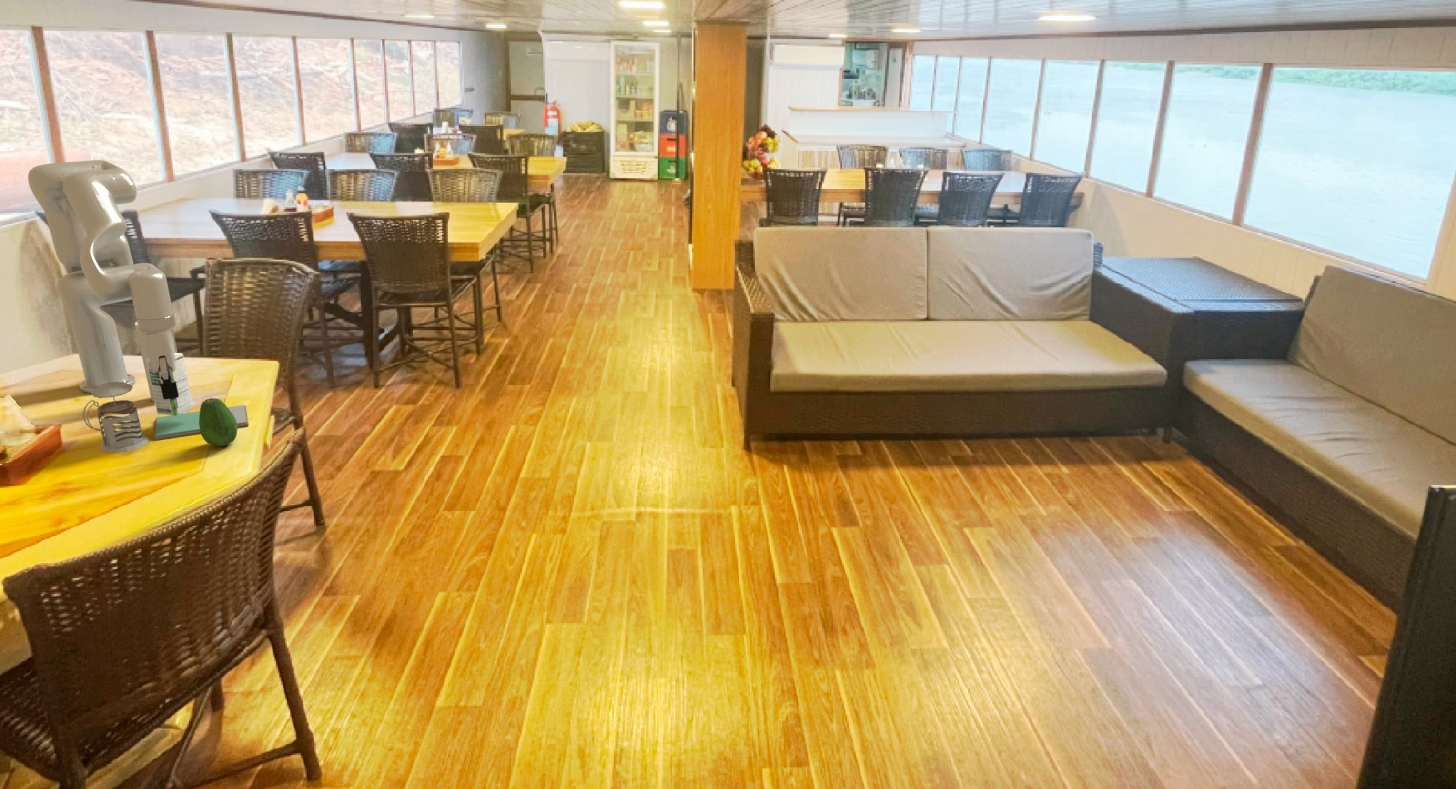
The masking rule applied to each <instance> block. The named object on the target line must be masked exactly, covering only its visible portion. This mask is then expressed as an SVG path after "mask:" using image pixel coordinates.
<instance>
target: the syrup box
mask: <svg viewBox="0 0 1456 789" xmlns="http://www.w3.org/2000/svg"><path fill="white" fill-rule="evenodd" d="M175 362H176V369H175V370H174V371H173V376H174V381H176V385H177V389H178V394H179V397H178V398H172V399H163V395H162V390H161V386H160V383H161V382H160V376H159V370H158V372H156V373H155V374H153V373H152V370H151V365H150V360H149V357H147V358H146V363H147V367H148V372H149V376H150V381H151V385H152V390H153V395H154V399H155V402H154V404H155V408H156V409H155V410H156V413H157V414H158V415H165V416H170V415H174V416H178V415H180V414H184V413H187V412H188V411H190V410H192V409H194V402H193V399H192V394H191V389H190V388H191V387H190V384H189V379H188V374H187V369H186V368H187V367H186V364H185V363H186V362H185V359H184V354H183V352H182V353H181V352H178V353H175ZM166 363H167V360H166ZM160 369H161V368H160ZM167 370H170V366H169V365H168V364H167ZM168 374H170V373H168ZM170 377H171V376H170Z"/></svg>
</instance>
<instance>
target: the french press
mask: <svg viewBox="0 0 1456 789" xmlns="http://www.w3.org/2000/svg"><path fill="white" fill-rule="evenodd" d="M96 348H97V349H98V350H102V354H103V349H106V348H107V346H106V345H105V344H104V343H100V344H98V345H97V346H96ZM103 358H104V354H103ZM104 362H105V358H104ZM105 366H106V362H105ZM106 370H107V366H106ZM107 374H108V370H107ZM108 379H109V383H105V384H102V385H100V386H98V387H97V388H95V389H94V390H93V391H92V392H91V393H90V394H91V396H92V397H94V398H97V399H102V398H103V399H106V398H112V399H113V400H112V401H108V402H105V403H103V404H101V405H99V402H98V401H95V400H89V402H87V403H86V405H85V406H84V407H83V412H82V417H83V418H82V419H83V421H84V423H85V425H86V426H87V427H88V428H89V429H92V430H93V431H97V432H100V434H101V438H102V441H103V443H102V444H101V445H100V447H99V449H100V450H101V451H102V452H104V453H107V454H108V453H109V454H113V453H114V454H119V453H126V452H130V451H134V450H137V449H140V448H142V447H144V446H146V445H147V444H148V443H149V441H150V438H149V437H148V436H147V435H144V434H143V432H142V431H143V429H142V427H141V422H140V418H139V413H138V408H137V407H136V406H135V402H133V401H132V400H127V399H124V400H122V399H118V400H115V397H119V396H122V395H125V394H128V393H129V392H131V391H132V389H133V385H130V384H127V383H124V382H110V378H109V374H108ZM92 402H93V403H92ZM90 403H92V404H90ZM89 404H90V406H89V407H88V405H89ZM93 405H94V406H95V407H96V408H97V411H98V413H97V420H98V423H99V427H100V428H95V427H94V426H93V425H92V424H91V423H90V420H89V415H90V413H89V412H90V409H91V408H92V407H93ZM87 407H88V409H87V412H86V408H87ZM85 413H86V416H85ZM105 414H114V415H105ZM104 415H105V416H104ZM116 415H124V416H116ZM103 416H104V417H103ZM102 417H103V418H102ZM86 419H87V420H86Z"/></svg>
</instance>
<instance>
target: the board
mask: <svg viewBox="0 0 1456 789" xmlns="http://www.w3.org/2000/svg"><path fill="white" fill-rule="evenodd" d="M227 407H228V409H229V410H230V411H231V412H232V414H233V415H234V417H235V419H236V422H237V427H238V428H237V429H239V428H246V427H249V420H248V413H247V406H246V405H244V404H241V405H234V406H227ZM199 416H200V410H199V411H193V412H191V411H190V412H184V413H182V414H180V415H178V416H174V415H164V416H157V417H155V422H154V424H155V425H154V435H153V440H154V441H161V440H167V439H175V438H179V437H180V438H181V437H187V436H194V435H201V434H200V427H199Z"/></svg>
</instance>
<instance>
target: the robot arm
mask: <svg viewBox="0 0 1456 789" xmlns="http://www.w3.org/2000/svg"><path fill="white" fill-rule="evenodd" d="M27 180H28V181H27V182H28V186H29V189H30V190H31V192H32V195H33V196H34V198H35V199H36V200H37V202H38V204H39V206H41V208H42V210H43V212H44V214H45V218H46V220H47V225H48V229H49V233H50V237H51V240H52V245H53V247H54V252H55V254H56V257H57V259H58V261H59V262H60V264H62V266H63V265H64V266H66V267H70V268H71V267H72V268H73V267H75V268H76V267H78V268H79V267H80V268H81V270H78V271H77V270H76V271H73V272H69V273H66V274H64V275H62V276H61V277H60V278H59V279H58V281H57V284H56V288H57V292H58V294H59V297H60V299H61V301H62V303H63V306H64V308H65V310H66V313H67V316H68V318H69V319H68V320H69V322H70V326H71V330H72V333H73V338H74V342H75V344H76V350H77V352H78V353H77V354H78V356H79V361H80V365H81V368H82V371H83V372H82V373H83V376H84V380H83V381H82V382H81V383H79V388H80V389H79V390H80V391H81V392H84V393H88V394H91V392H92V391H93V390H94V389H95V388H97V387H98V386H100V385H102V384H105V383H109V379H108V374H109V378H110V382H124V383H127V384H130V385H132V386H133V385H135V382H136V377H135V375H133V374H130V373H127V369H126V363H125V361H124V359H125V358H124V356H123V352H122V348H121V347H122V346H121V343H120V339H119V335H118V330H117V325H116V322H115V320H114V318H113V317H112V315H110V314H109V313H108V312H106V311H105V310H102V309H101V307H102V306H106V305H110V304H116V303H121V302H125V301H130V300H132V305H133V310H134V313H135V317H136V322H137V323H138V327H139V331H140V332H141V333H145V338H146V344H147V350H148V355H149V360H150V365H151V370H152V373H153V374H155V373H156V372H158V370H159V376H160V382H161V383H160V386H161V390H162V395H163V399H172V398H178V397H179V394H178V389H177V385H176V381H174V376H173V371H174V370H175V369H176V362H175V347H174V342H173V337H172V332H171V330H173V331H174V330H175V329H176V328H177V324H176V319H175V314H174V309H173V304H172V300H171V296H170V289H169V286H168V285H169V284H168V281H167V277H166V275H165V273H164V272H163V271H161V270H160V269H158V267H157V266H155V264H152V263H150V262H149V263H148V262H141V263H140V262H139V263H135V264H134V260H133V257H132V252H131V248H130V245H129V240H128V238H127V236H126V234H125V233H126V232H127V230H128V225H127V222H126V220H125V218H124V217H123V215H122V213H121V211H120V209H119V207H118V205H123V204H130V203H133V202H134V201H135V200H137V195H138V193H137V186H136V185H135V181H134V180H133V179H132V177H131V176H130V174H129V173H128V172H127V171H126V170H124V169H123V168H121V167H120V166H118V165H115V164H114V163H112V162H110V161H107V160H103V159H101V160H100V159H95V160H94V159H93V160H92V159H91V160H82V161H80V160H79V161H64V162H52V163H45V164H40V165H36V166H34V167H32V168H31V169H30V170H29V172H28V176H27ZM104 263H109V266H104V267H100V265H99V264H104ZM100 343H104V344H105V345H106V346H107V348H106V349H103V354H104V358H105V362H106V366H107V370H108V374H107V370H106V366H105V362H104V358H103V354H102V350H98V349H97V348H96V346H97V345H98V344H100ZM166 360H167V363H166ZM167 364H168V365H169V366H170V370H167ZM160 368H161V369H160ZM168 373H170V374H168ZM170 376H171V377H170Z"/></svg>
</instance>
